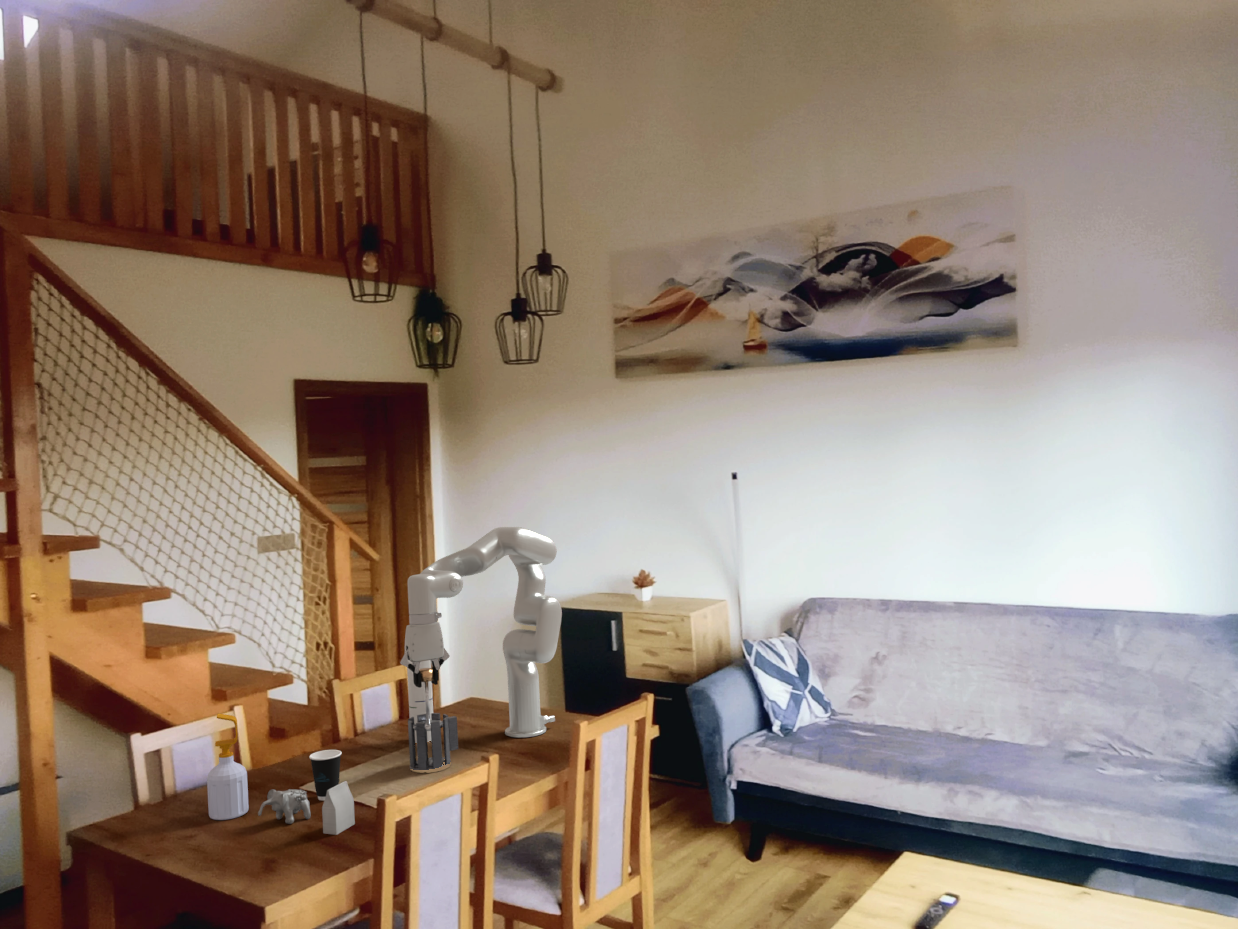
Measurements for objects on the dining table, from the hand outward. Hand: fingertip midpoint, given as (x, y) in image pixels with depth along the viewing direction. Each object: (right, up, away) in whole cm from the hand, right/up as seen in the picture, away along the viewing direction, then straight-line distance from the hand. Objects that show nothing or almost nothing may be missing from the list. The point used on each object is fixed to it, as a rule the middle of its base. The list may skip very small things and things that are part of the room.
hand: (426, 684), depth 268 cm
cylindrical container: (-7, -23, +27) cm, 36 cm away
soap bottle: (-43, -25, -30) cm, 58 cm away
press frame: (+2, -23, +1) cm, 23 cm away
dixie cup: (-21, -24, -21) cm, 38 cm away
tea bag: (-12, -24, -44) cm, 51 cm away
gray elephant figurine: (-26, -24, -37) cm, 52 cm away
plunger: (+1, -12, 0) cm, 12 cm away
